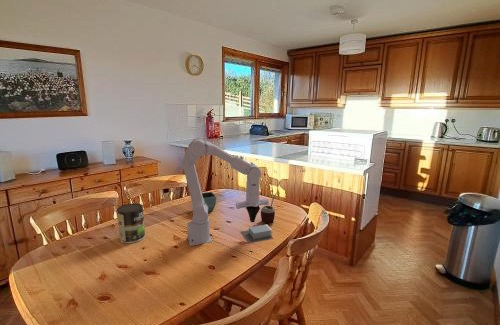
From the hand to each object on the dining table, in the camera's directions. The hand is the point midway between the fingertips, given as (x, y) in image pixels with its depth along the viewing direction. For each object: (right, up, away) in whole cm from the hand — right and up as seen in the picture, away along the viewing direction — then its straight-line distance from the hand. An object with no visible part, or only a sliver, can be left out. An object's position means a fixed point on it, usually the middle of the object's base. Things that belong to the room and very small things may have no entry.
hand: (252, 221), depth 115 cm
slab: (0, -6, +1) cm, 6 cm away
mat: (+2, -7, +2) cm, 8 cm away
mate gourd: (+8, -4, +16) cm, 19 cm away
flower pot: (-25, -1, +30) cm, 39 cm away
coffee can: (-53, -7, -1) cm, 53 cm away
